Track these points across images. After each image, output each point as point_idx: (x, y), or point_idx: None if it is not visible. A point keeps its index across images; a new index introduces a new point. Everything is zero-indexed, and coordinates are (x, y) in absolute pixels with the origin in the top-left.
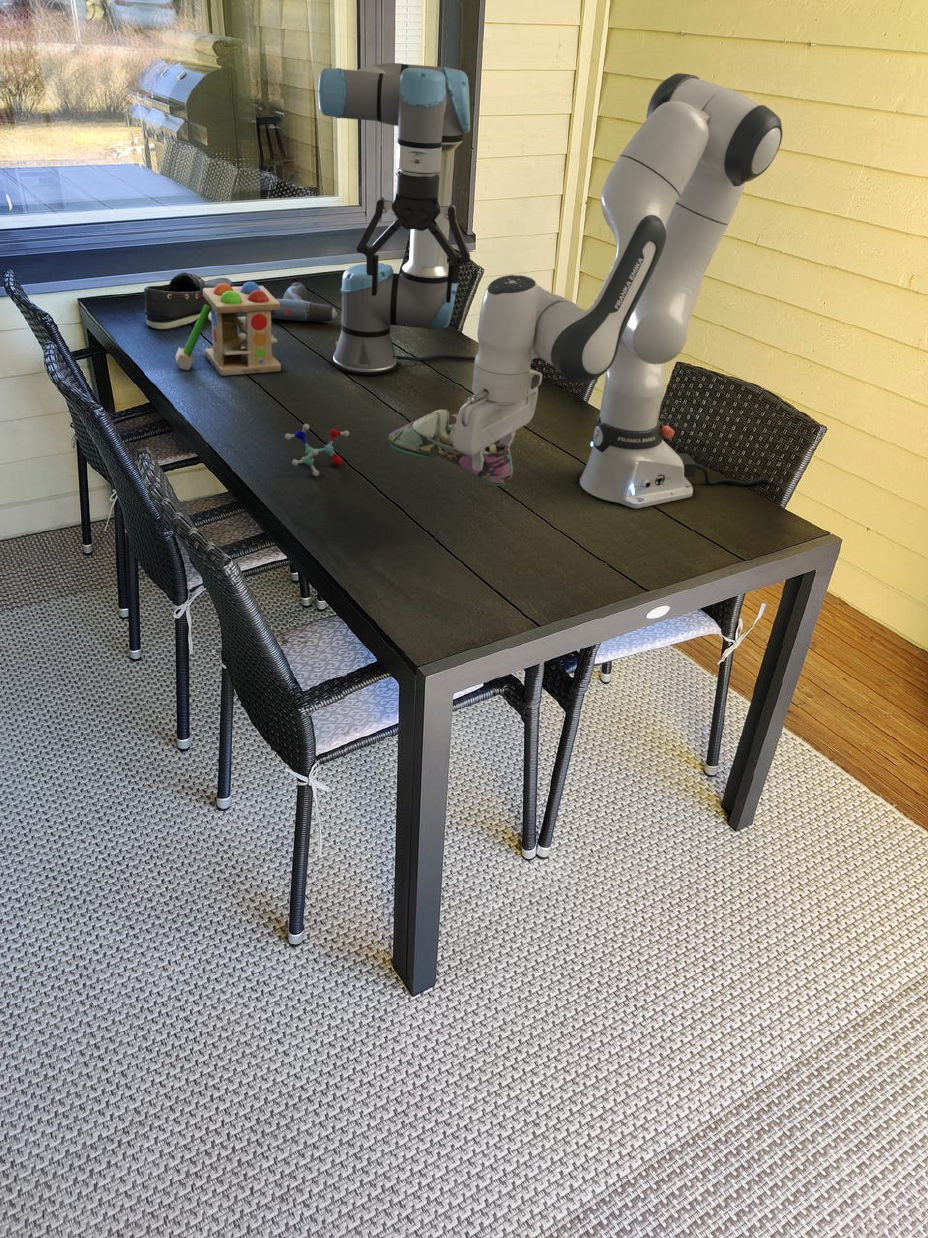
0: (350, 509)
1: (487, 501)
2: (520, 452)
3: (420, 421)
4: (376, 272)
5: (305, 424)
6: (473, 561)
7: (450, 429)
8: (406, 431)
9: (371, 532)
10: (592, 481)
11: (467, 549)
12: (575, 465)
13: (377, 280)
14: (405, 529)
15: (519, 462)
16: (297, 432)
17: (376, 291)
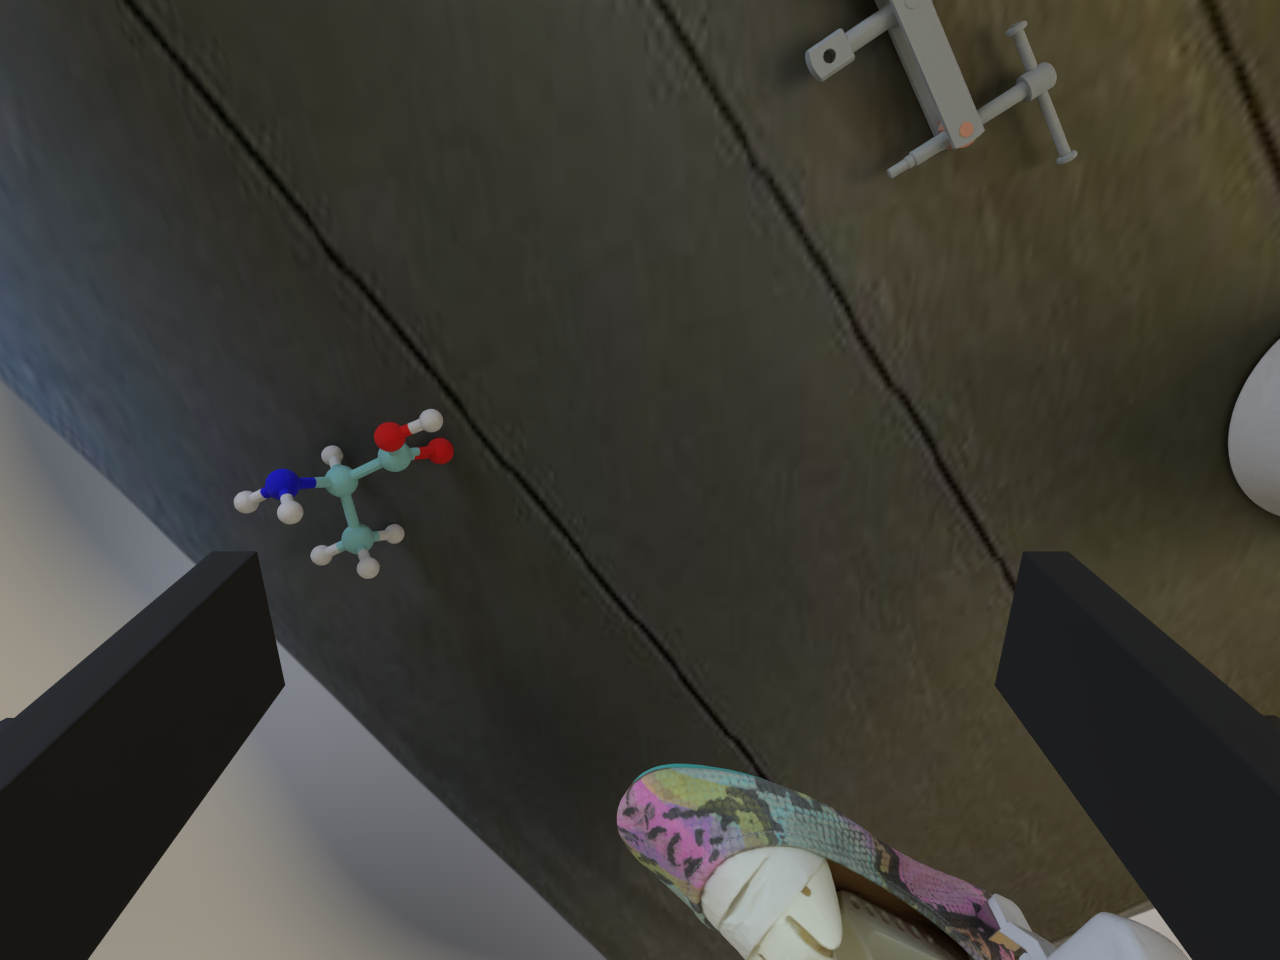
0: (535, 677)
1: (904, 575)
2: (1079, 194)
3: (733, 938)
4: (141, 884)
5: (284, 520)
6: None
7: (817, 78)
8: (682, 899)
9: (604, 764)
10: (1274, 487)
11: (830, 794)
12: (1265, 267)
13: (192, 653)
14: (683, 740)
15: (1056, 287)
16: (268, 492)
17: (262, 652)
